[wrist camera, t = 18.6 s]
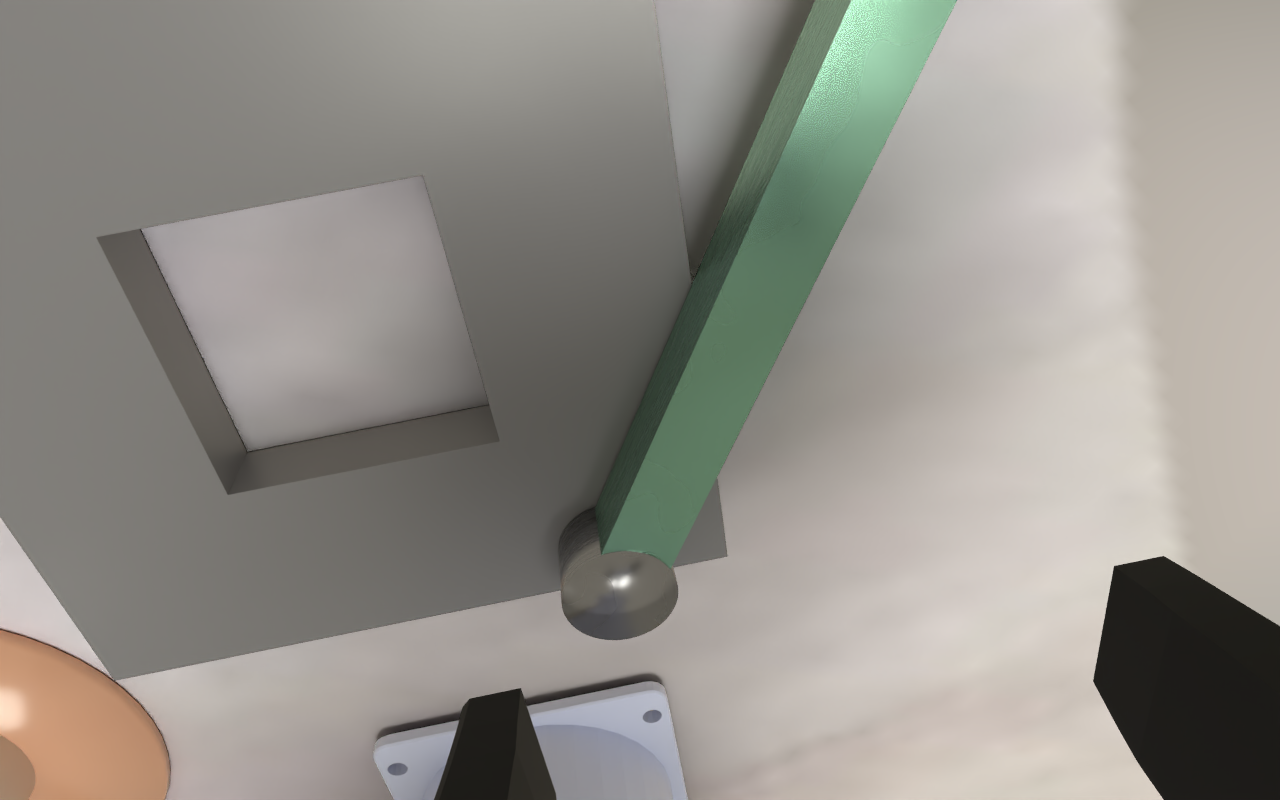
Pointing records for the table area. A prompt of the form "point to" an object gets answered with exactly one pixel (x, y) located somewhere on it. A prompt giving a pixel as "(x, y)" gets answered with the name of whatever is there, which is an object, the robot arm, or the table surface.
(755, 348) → the bar
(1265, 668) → the robot arm
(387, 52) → the collar block
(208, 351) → the table surface
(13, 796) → the plug
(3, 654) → the coaster
